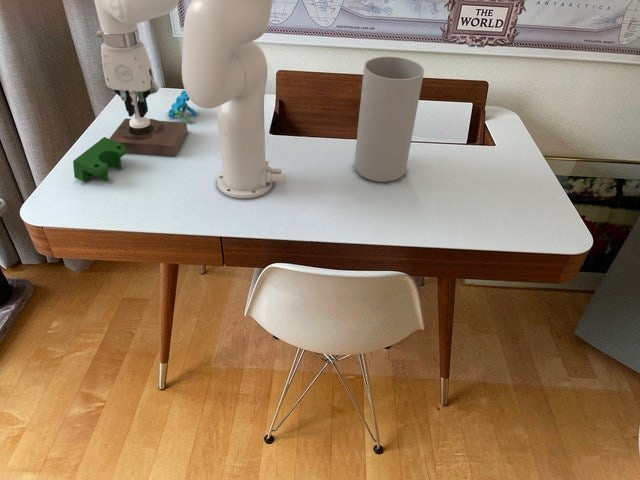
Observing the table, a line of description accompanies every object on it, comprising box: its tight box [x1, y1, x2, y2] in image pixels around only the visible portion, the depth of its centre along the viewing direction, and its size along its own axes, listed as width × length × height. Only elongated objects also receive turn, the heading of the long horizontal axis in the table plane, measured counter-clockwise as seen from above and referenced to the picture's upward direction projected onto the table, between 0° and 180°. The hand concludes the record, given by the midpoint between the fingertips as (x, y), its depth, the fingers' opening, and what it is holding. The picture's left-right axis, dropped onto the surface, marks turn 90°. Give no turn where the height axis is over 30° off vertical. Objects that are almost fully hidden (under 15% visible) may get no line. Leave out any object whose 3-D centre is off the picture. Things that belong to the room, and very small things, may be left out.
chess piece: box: [129, 91, 150, 128], centre depth 118 cm, size 5×5×10 cm
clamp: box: [72, 136, 126, 183], centre depth 111 cm, size 12×6×9 cm
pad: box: [108, 117, 189, 158], centre depth 123 cm, size 16×13×3 cm
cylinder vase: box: [353, 56, 425, 183], centre depth 110 cm, size 12×12×25 cm
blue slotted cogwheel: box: [167, 90, 197, 123], centre depth 133 cm, size 11×6×10 cm
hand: (138, 113), depth 120 cm, fingers closed on chess piece
